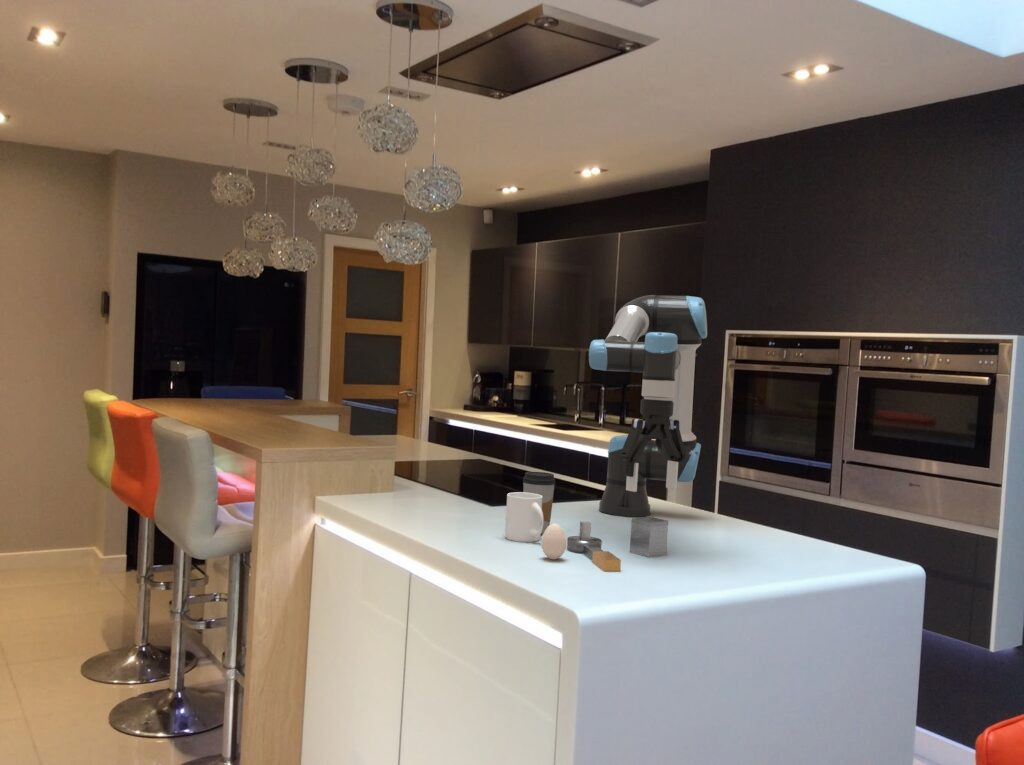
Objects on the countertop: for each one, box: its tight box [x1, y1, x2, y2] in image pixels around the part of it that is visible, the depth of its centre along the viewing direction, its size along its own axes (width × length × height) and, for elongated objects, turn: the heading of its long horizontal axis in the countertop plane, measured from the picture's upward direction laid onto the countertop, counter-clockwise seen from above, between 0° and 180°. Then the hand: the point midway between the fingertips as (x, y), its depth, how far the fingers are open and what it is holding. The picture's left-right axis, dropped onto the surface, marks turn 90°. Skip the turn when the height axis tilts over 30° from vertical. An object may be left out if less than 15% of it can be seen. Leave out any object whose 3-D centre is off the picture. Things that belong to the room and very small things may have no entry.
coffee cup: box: [522, 471, 556, 536], centre depth 216 cm, size 8×8×15 cm
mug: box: [504, 491, 544, 543], centre depth 206 cm, size 9×12×11 cm
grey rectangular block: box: [629, 515, 669, 558], centre depth 199 cm, size 6×6×8 cm
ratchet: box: [566, 520, 622, 572], centre depth 191 cm, size 8×24×6 cm, turn 13°
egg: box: [541, 523, 567, 560], centre depth 188 cm, size 6×6×8 cm
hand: (651, 489), depth 199 cm, fingers open, 13 cm apart
